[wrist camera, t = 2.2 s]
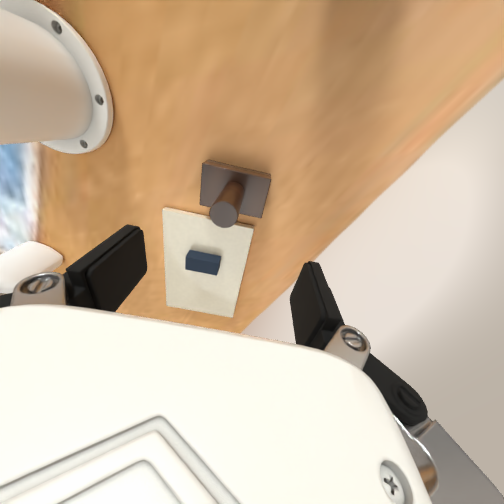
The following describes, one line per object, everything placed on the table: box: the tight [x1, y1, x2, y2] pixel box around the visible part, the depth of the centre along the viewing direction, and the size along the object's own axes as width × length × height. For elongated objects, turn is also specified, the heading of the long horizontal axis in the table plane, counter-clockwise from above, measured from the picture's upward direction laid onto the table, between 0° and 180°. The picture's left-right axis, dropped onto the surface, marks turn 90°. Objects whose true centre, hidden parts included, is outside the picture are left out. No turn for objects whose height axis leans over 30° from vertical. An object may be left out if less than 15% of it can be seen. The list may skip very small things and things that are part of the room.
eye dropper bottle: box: [0, 241, 63, 294], centre depth 29 cm, size 4×6×12 cm
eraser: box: [185, 250, 221, 276], centre depth 31 cm, size 5×2×2 cm, turn 78°
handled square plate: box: [200, 160, 271, 228], centre depth 22 cm, size 8×5×10 cm, turn 78°
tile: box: [162, 207, 254, 318], centre depth 33 cm, size 13×20×1 cm, turn 168°
